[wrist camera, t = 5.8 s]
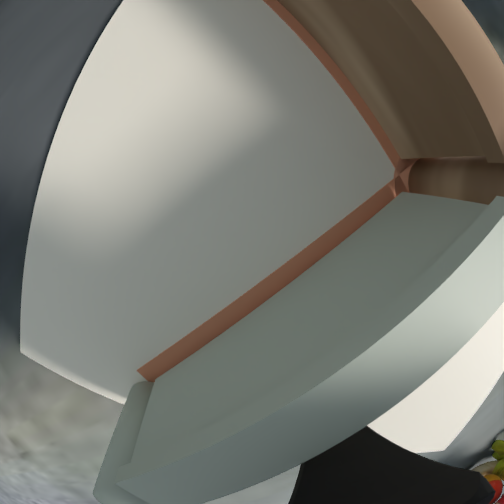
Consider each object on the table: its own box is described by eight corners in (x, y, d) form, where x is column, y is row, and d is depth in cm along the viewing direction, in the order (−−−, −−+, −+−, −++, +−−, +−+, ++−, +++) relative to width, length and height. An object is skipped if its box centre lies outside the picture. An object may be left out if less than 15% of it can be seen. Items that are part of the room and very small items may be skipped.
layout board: (197, -78, 6) (196, -84, 6) (568, 175, 10) (573, 176, 10) (24, 348, 10) (19, 352, 10) (441, 447, 14) (444, 451, 14)
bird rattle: (450, 472, 20) (520, 447, 16) (449, 557, 10) (532, 526, 6) (455, 447, 18) (534, 417, 14) (458, 547, 8) (554, 507, 5)
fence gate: (420, 226, 9) (530, 265, 4) (153, 419, 11) (130, 519, 6) (397, 184, 9) (515, 199, 4) (121, 393, 10) (82, 492, 5)
